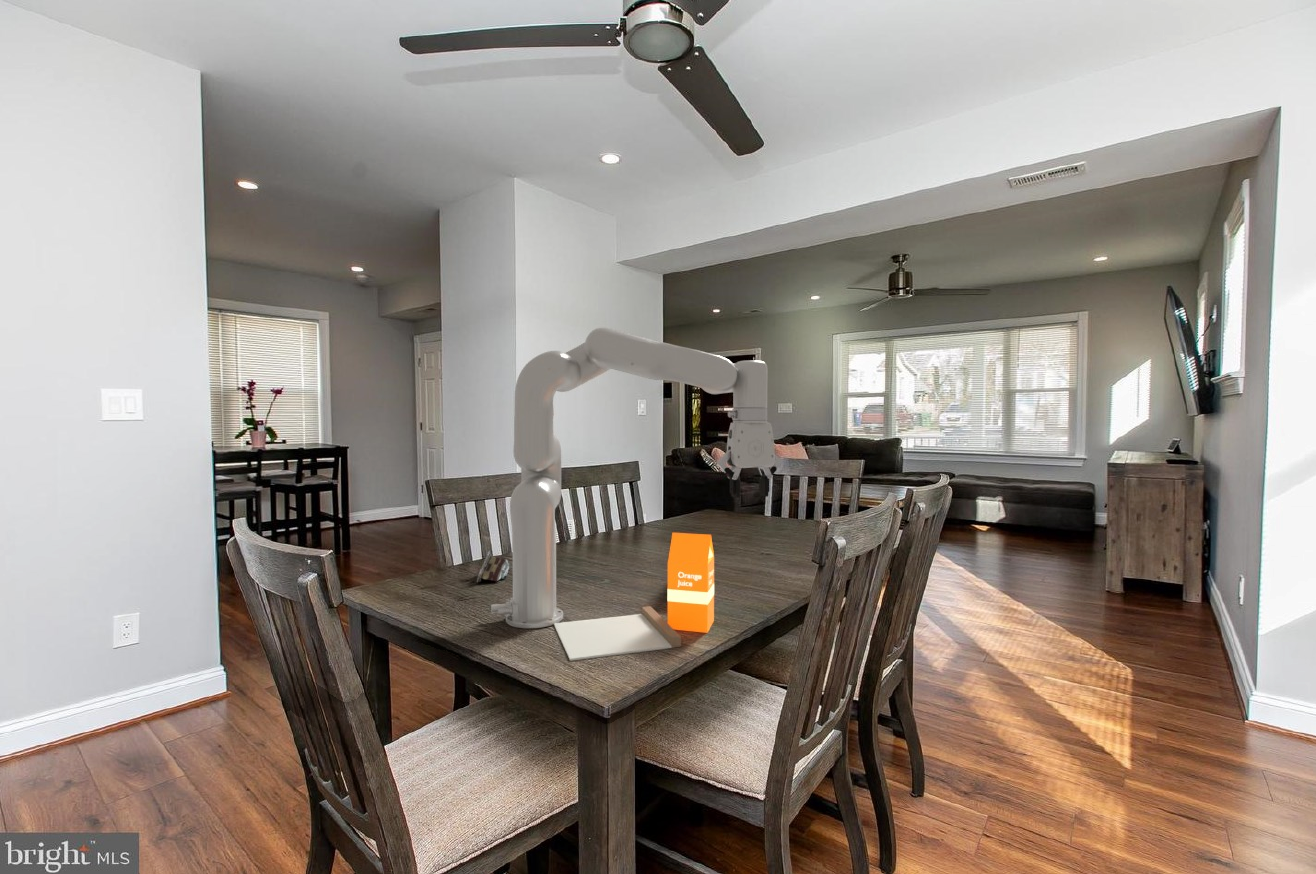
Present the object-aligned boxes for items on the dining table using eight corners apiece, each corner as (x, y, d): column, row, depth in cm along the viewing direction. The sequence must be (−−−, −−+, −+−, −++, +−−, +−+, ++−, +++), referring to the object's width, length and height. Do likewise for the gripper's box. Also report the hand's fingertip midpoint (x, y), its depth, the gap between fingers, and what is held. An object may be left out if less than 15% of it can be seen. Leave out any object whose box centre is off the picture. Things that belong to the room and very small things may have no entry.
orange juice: (707, 633, 125) (708, 538, 125) (667, 629, 128) (667, 536, 127) (714, 620, 133) (714, 531, 132) (675, 617, 135) (676, 529, 134)
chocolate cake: (502, 584, 159) (515, 548, 168) (476, 578, 158) (490, 542, 167) (499, 602, 165) (511, 566, 174) (473, 596, 165) (487, 560, 173)
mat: (570, 660, 111) (570, 650, 111) (553, 625, 130) (553, 616, 130) (681, 646, 118) (681, 636, 118) (650, 614, 137) (650, 606, 137)
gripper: (721, 416, 127) (721, 500, 127) (793, 416, 132) (792, 497, 133) (707, 416, 134) (707, 496, 135) (776, 416, 139) (775, 493, 140)
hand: (749, 495), depth 134 cm, fingers open, 6 cm apart
